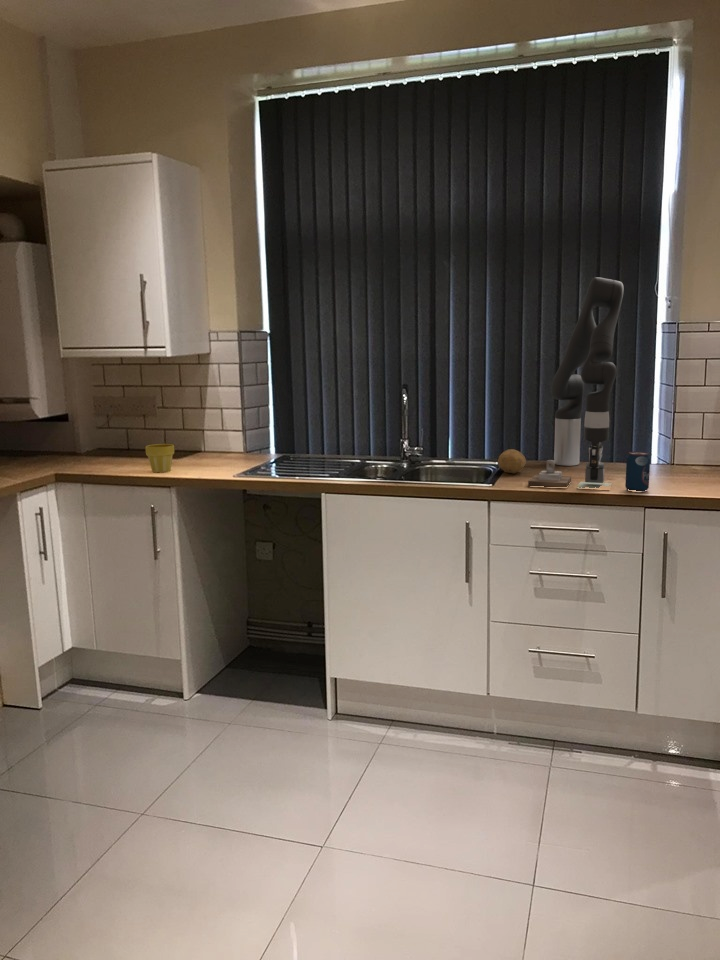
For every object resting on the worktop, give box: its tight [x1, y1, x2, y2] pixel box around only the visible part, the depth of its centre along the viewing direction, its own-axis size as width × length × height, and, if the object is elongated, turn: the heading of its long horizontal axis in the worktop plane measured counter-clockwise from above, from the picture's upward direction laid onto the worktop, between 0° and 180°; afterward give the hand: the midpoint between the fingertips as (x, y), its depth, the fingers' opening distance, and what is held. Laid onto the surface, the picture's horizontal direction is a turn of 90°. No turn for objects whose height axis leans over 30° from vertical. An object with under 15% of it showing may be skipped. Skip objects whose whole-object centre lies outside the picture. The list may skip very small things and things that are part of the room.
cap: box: [584, 461, 606, 483], centre depth 259 cm, size 6×6×6 cm
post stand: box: [528, 459, 572, 487], centre depth 264 cm, size 12×12×8 cm
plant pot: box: [144, 443, 175, 473], centre depth 301 cm, size 10×10×10 cm
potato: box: [497, 448, 527, 474], centre depth 286 cm, size 10×14×8 cm
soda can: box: [624, 451, 651, 491], centre depth 252 cm, size 7×7×12 cm
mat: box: [576, 481, 613, 488], centre depth 259 cm, size 10×10×1 cm
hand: (594, 477), depth 259 cm, fingers closed on cap, 5 cm apart
